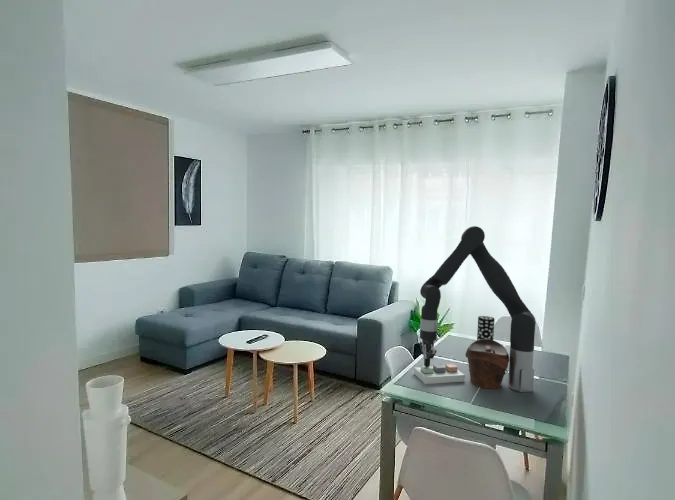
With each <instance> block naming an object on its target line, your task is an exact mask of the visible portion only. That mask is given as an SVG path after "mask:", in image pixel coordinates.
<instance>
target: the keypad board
mask: <svg viewBox="0 0 675 500" xmlns="http://www.w3.org/2000/svg"><path fill="white" fill-rule="evenodd" d="M430 366H431V365H430ZM443 366H444V367H445V365H443ZM431 367H432V368H433V365H432V366H431ZM413 374H414V375H415V376H416V377H417V378H418V379H419V380H420V381H421V382H422V383H423V384H424V385H433V384H446V383H460V382H461V383H462V382H463V383H464V382H465V381H466V380H465V379H466V377H465V376H466V374H465V373H463V372H462V371H460V370H459V369H457V371H454V372H449V371H447V370H446V369H445V372H436V371H434V370H433V373H424V372H423V371H421V366H416V367H415V366H414V367H413Z"/></svg>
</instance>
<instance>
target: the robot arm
mask: <svg viewBox="0 0 675 500" xmlns="http://www.w3.org/2000/svg"><path fill="white" fill-rule="evenodd" d="M485 237H486V234H485V231H484V230H483V229H482V228H481V227H479V226H476V225H475V226H474V225H473V226H470V227H468V228H466V229H465V230H464V231H463V233H462V234H461V237H460V241H459V243H458V245H457V246H456V247H455V249H454V250H453V251H452V253H451V254H449V256H448V257H447V258H446V259H445V260H444V261H443V263H442V264H441V265H440V266H439V267H438V269H437V270H436V271H435V273H434V274H433V275H432V276H430V277H429V278H428V279H427V280H426V281H424V283H423V284H422V286H421V288H420V290H419V291H420V296H421V297H422V298H423V299H425V300H424V301H425V302H424V305H423V306H422V307H421V314H420V315H421V316H420V324H419V338H420V339H421V342H419V347H420V351H421V355H422V356H423V359H424V360H423V366H425V367H429V366H431V360H432V359H434V357H435V355H436V353H437V349H435V348H434V347H435V344H434V342H435V341H437V338H438V311H439V310H438V309H439V306H440V302H441V298H442V294H441V293H442V292H441V289H440V288H441V287H442V286H446V285H447V284H448V283H449V282H450V281H451V280H452V279H453V277H454V276H455V275H456V273H457V272H458V270H459V269H460V267H461V266H462V265H463V263H464V261H466V259H467V258H468V257H469V256H471V258H472V259H473V260H474V262H475V264H476V265H477V267H478V270H479V271H480V273H481V275H482V276H483V279H484V280H485V282H486V284H487V285H488V287H489V288H490V290H491V292H492V293H493V294H494V295H495V296H496V297H497V299H499V301H501V303H502V304H503V305H504V307H505V308H506V310H507V312H508V313H509V317H510V318H511V321H510V331H509V332H510V334H509V337H510V338H509V342H510V347H509V362H508V380H507V386H508V388H509V389H511V390H514V391H517V392H519V393H528V392H533V391H534V381H535V380H534V379H535V378H534V377H535V370H534V367H533V365H534V353H535V337H536V336H535V333H536V323H537V322H536V321H537V320H536V317H535V315H534V314H533V313H532V312H531V310H530V309H529V308H528V307H527V305H526V304H525V303H524V301H523V300H522V299H521V297H520V295H519V293H518V291H517V288H516V286H515V285H514V284H513V281H512V279H511V277H510V276H509V274H508V273H507V271H506V270H505V268H504V267H503V266H502V265H501V264H500V263H499V261H498V260H496V259H495V258H494V257H493V256H492V255H491V253H490V252H489V251H488V249H487V247H486V245H485V243H484V240H485Z"/></svg>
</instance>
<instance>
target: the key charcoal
mask: <svg viewBox="0 0 675 500" xmlns="http://www.w3.org/2000/svg"><path fill="white" fill-rule="evenodd" d="M432 366H433V370H434V371H436V372H445V367H444V366H445V365H442V364H433V365H432Z"/></svg>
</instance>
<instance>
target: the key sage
mask: <svg viewBox="0 0 675 500" xmlns="http://www.w3.org/2000/svg"><path fill="white" fill-rule="evenodd" d="M420 367H421V371H423V372H424V373H433V368H432V367H431V365H430V366H429V367H425V366H424V365H420Z"/></svg>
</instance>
